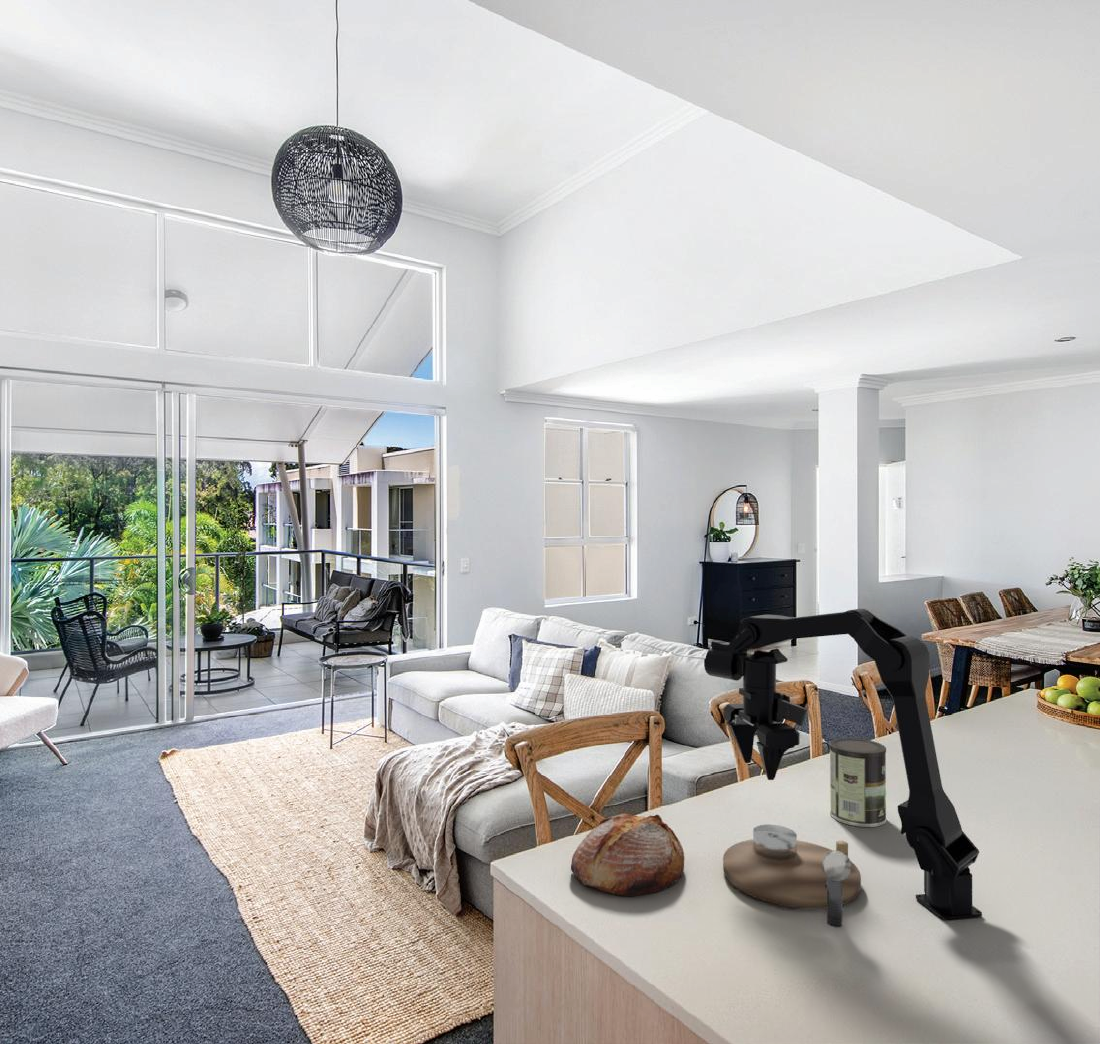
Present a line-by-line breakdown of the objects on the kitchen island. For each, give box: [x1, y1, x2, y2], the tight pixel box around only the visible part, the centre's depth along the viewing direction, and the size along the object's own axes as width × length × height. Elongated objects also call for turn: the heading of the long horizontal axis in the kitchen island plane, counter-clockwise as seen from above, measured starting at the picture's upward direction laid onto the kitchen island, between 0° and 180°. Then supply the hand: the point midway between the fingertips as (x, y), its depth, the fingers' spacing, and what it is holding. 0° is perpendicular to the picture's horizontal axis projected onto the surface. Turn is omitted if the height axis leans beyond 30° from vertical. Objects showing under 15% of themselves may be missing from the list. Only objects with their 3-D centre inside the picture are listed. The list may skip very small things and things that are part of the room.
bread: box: [570, 813, 685, 897], centre depth 121 cm, size 16×20×10 cm
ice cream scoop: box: [822, 850, 852, 928], centre depth 107 cm, size 3×4×10 cm
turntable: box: [722, 838, 862, 909], centre depth 119 cm, size 21×21×4 cm
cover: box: [752, 824, 797, 860], centre depth 125 cm, size 7×7×3 cm
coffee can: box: [828, 737, 887, 828], centre depth 145 cm, size 10×10×14 cm
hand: (758, 771), depth 134 cm, fingers open, 9 cm apart
